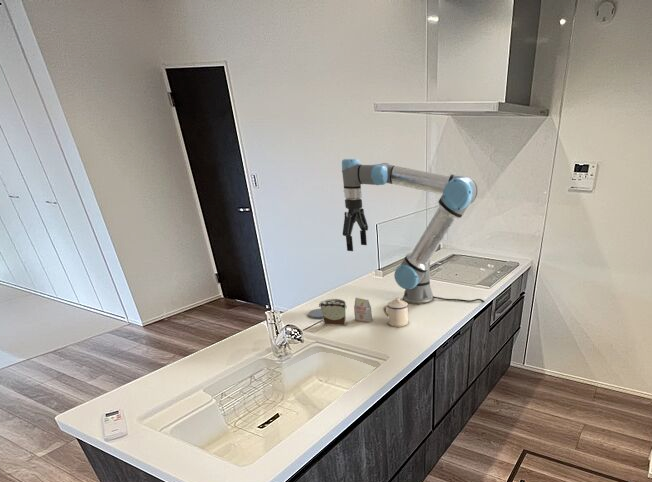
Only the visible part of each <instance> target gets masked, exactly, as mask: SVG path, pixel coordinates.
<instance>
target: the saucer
mask: <svg viewBox="0 0 652 482" xmlns="http://www.w3.org/2000/svg"><path fill="white" fill-rule="evenodd" d="M308 316H309V318H311V319H315V320H319V319H323V316H322V312H321V308H316V309H312V310H310V311H309V312H308Z"/></svg>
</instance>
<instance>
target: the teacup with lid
mask: <svg viewBox="0 0 652 482" xmlns="http://www.w3.org/2000/svg"><path fill="white" fill-rule="evenodd" d="M408 307H409V304H408V302H406V301H404V300H402V299H400V297H395V298H394V299H393V300H391V301H388V303H387V305H385V306H384V307H383V313H384V315H385V316H386V317H388V324H389V325H390V326H391V327H395V328H396V327H397V328H399V327H405V326H407V325H408V323H409V316H408V315H409V313H408Z"/></svg>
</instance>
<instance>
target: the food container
mask: <svg viewBox="0 0 652 482" xmlns="http://www.w3.org/2000/svg"><path fill="white" fill-rule="evenodd" d="M318 307H319V308H320V309H321V312H322V316H323V318H322V319H323V320H322V321H323V323H324V325H329V326H346V309H347V307H348V305H347V303H346V301H345V300H344V299H339V298H329V299H328V298H327V299H324V300H321V301H320V302H319V303H318Z"/></svg>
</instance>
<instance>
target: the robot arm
mask: <svg viewBox="0 0 652 482" xmlns="http://www.w3.org/2000/svg"><path fill="white" fill-rule="evenodd" d="M341 172H342V173H341V174H342V181H343V193H344V198H345V199H344V206H345V209H347V210H348V211H344V218H343V228H342V236H344V237H345V241H346V251H347V252H354V243H353V235H352V233H353V229H354V225H355V224H356V223H357V226H358V227H359V228H360V230H359V235H360V236H359V237H360V245H361V246H368V244H367V243H368V242H367V241H368V240H367V231H368V230H369V225H368V222H367V217H366V215H365V211H364V210H365V209H364V208H363V199H362V197H363V196H362V195H363V194H362V185H371V186H384V185H386V184H391V185H396V186H399V187H400V186H401V187H405V188H411V189H415V190H420V191H423V192H428V193H432V194H433V193H434V194H438V195H441V196H440V198H439V199H438V201H437V203H438V207H437V210H436V212H435V213H434V215H433V216H432V218H431V220H430V221H429V223H428V225H427V226H426V228H425V229H424V231H423V233H422V235H421V236H420V238H419V240H418V242H417V243H416V245H415V247H414V248H413V249H412V251H411V252H409V253H406V255H405V257H404V258H403V260H402V261H401V263H400V264H399V265H398V266H397V267H396V269H395V270H394V276H393V277H394V280H395V282H396V284H397V286H399V287H400V288H402V289H403V290H404V291H403V301H405V302H407V304H408V303H409V304H413V305H414V304H415V305H423V304H429V303H431V302H433V301H434V299H436V300H441V301H455V302H456V301H457V302H467V303H473V302H477V301H481V302H482V303H485V301H484V300H483V299H481V298H475V299H460V298H446V297H445V298H444V297H439V296H434V294H433V291H432V287H431V259H432V257H433V256H434V254H435V253H436V251H437V249H438V247H439V246H440V245H441V243H442V242H443V240H444V238H445V236H446V235H447V233H448V232H449V231H450V229H451V227H452V226H453V224H454V223H455V221H456V220H457V219H461V218H462V217H463V216H464V214H465V212H466V210H467V209H468V208H469V206H470V205H472V203H473V202H474V201H475V200H476V199H477V196H478V193H479V189H478V184H477V182H476V180H475V179H474V178H472V177H471V176H468V175H459V174H458V175H456V174H449V175H444V174H439V173H433V172H428V171H425V170H424V171H423V170H419V169H413V168H408V167H403V166H398V165H393V164H391V163H388V162H382V163H376V164H362V163H361V164H360V160H359V159H358V158H344V159H342V160H341ZM483 350H486V343H483Z"/></svg>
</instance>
